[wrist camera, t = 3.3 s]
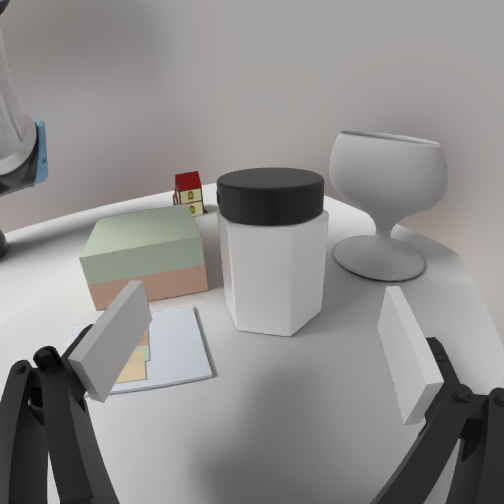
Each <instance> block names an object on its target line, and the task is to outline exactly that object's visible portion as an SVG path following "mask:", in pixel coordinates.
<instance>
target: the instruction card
mask: <svg viewBox="0 0 504 504" xmlns="http://www.w3.org/2000/svg"><path fill="white" fill-rule="evenodd" d="M151 316H152V319H153V320H152V322H151V323H150V325H149V326H148V328H147V330H146V331H145V333H144V335H143V336H142V338H141V340H140V341H139V343H138V345H137V346H136V348H135V350H134V351H133V353H132V355H131V356H130V358H129V360H128V362H127V363H126V365H125V367H124V368H123V370H122V372H121V374H120V375H119V377H118V379H117V381H116V382H115V384H114V386H113V388H112V389H111V391H110V393H109V394H117V393H125V392H132V391H139V390H146V389H152V388H159V387H165V386H170V385H176V384H181V383H187V382H192V381H197V380H201V379H206V378H211V377H213V376H212V372H211V369H210V366H209V362H208V359H207V356H206V352H205V349H204V345H203V342H202V338H201V335H200V331H199V328H198V324H197V321H196V317H195V313H194V310H193V306H187V307H181V308H176V309H170V310H165V311H159V312H154V313H151ZM90 324H95V322H93V323H87V324H80V325H75V326H74V330H73V334H72V338H71V342H70V345H71V344H72V342H74V340H75V339H76V337H78V335H79V334H80V332H81V331H82V330H83V329H84V328H86V327H87V326H88V325H90ZM88 396H89V394H88V393H87V391H86V393H85V395H84V397H88Z"/></svg>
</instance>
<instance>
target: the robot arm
mask: <svg viewBox="0 0 504 504" xmlns="http://www.w3.org/2000/svg"><path fill="white" fill-rule="evenodd" d="M10 1H11V0H0V18H1V16H2V15H3V14H4V12H5V11H6V10H7V8H8V6H9V4H10ZM47 177H48V164H47V151H46V134H45V123H44V122H43V121H35V122H33V120H32V119H31V118H30V116H28V115H27V114H25V113H22V112H21V110H20V107H19V103H18V100H17V97H16V94H15V90H14V87H13V83H12V79H11V75H10V71H9V67H8V63H7V59H6V54H5V49H4V44H3V40H2V33H1V27H0V197H1V196H3V195H6V194H9V193H12V192H15V191H18V190H21V189H24V188H27V187H33V186H35V185H36V184H39V183H41V182H44V181H45V180H46V179H47ZM7 250H8V245H7V241H6V238H5V236H4V234H3V233H2V231H1V230H0V258H1V257H2V256H3V255H4V254H5V253H6V251H7ZM152 320H153V319H152V316H151V312H150V308H149V305H148V301H147V297H146V293H145V289H144V285H143V281H141V280H130V282H129V283H128V284H127V285H126V286H125V287H124V289H123V290H122V291H121V292H120V293H119V295H118V296H117V297H116V298H115V299H114V300H113V302H112V303H111V304H110V305H109V306H108V308H107V309H106V310H105V311H104V313H103V314H102V315H101V316H100V317H99V319H98V320H97V321H96V322H95V324H90V325H88V326H87V327H86V328H84V329H83V330H82V331H81V332H80V334H79V335H78V337H76V339H75V340H74V342H72V344H71V345H70V346H69V347H68V349H67V350H66V351H65V353H64V354H63V355H62V356H61V358H60V356H59V354H58V352H57V350H56V348H54V347H53V346H45V347H43V348H41V349H39V350H38V351H37V352H36V353H35V354H34V357H33V360H34V362H35V363H36V365H37V367H38V368H32V366H31V364H30V363H29V361H27V360H20V361H18V362H16V363H15V364H14V365H13V366H12V367H11V369H10V372H9V375H8V379H7V382H6V385H5V388H4V392H3V395H2V399H1V402H0V504H48V503H47V471H48V450H49V455H50V460H51V465H52V470H53V475H54V479H55V483H56V487H57V491H58V495H59V499H60V504H120V503H119V501H118V499H117V496H116V494H115V491H114V489H113V486H112V484H111V481H110V479H109V476H108V473H107V471H106V468H105V465H104V462H103V459H102V456H101V453H100V450H99V447H98V444H97V440H96V437H95V434H94V430H93V427H92V423H91V419H90V415H89V411H88V407H87V403H86V400H85V398H84V395H85V393H86V391H87V393H88V394H89V396H90V398H91V399H93V400H96V401H99V402H103V403H104V402H105V400H106V398H107V396H108V395H109V393H110V391H111V389H112V388H113V386H114V384H115V382H116V381H117V379H118V377H119V375H120V374H121V372H122V370H123V368H124V367H125V365H126V363H127V362H128V360H129V358H130V356H131V355H132V353H133V351H134V350H135V348H136V346H137V345H138V343H139V341H140V340H141V338H142V336H143V335H144V333H145V331H146V330H147V328H148V326H149V325H150V323H151V322H152ZM377 329H378V333H379V336H380V339H381V342H382V346H383V349H384V352H385V356H386V359H387V363H388V366H389V370H390V373H391V377H392V381H393V384H394V388H395V392H396V396H397V400H398V404H399V408H400V412H401V416H402V421H403V425H409V424H415V423H420V421H421V420H422V418H423V416H424V415H425V419H426V424H425V425H424V427H423V428H422V430H421V431H420V432H419V434H418V435H419V436H418V437H417V439H416V440H415V442H414V444H413V445H412V447H411V449H410V450H409V452H408V453H407V455H406V456H405V458H404V459H403V461H402V462H401V464H400V465H399V467H398V468H397V470H396V471H395V472H394V474H393V475H392V477H391V478H390V479H389V481H388V482H387V483H386V485H385V486H384V487H383V489H382V490H381V491H380V492H379V494H378V495H377V496H376V497H375V499H374V500H373V501H372V502H371V504H423V503H424V501H425V500H426V498H427V497H428V495H429V493H430V492H431V490H432V488H433V487H434V485H435V483H436V482H437V480H438V478H439V476H440V474H441V473H442V471H443V469H444V467H445V465H446V463H447V461H448V459H449V457H450V455H451V453H452V451H453V449H454V447H455V445H456V443H457V440H458V439H461V442H460V448H459V453H458V458H457V462H456V467H455V471H454V475H453V479H452V483H451V487H450V490H449V494H448V497H447V501H446V504H504V389H503V388H495V389H493V390H492V391H491V392H490V394H489V395H478V394H473V392H472V391H471V389H470V388H469V387H467V386H466V385H464V384H460V382H459V380H458V378H457V375H456V373H455V371H454V369H453V366H452V364H451V362H450V360H449V358H448V356H447V354H446V352H445V350H444V347H443V345H442V344H441V343H440V342H439V341H438V340H437V339H436V338H435V337H431V338H425V336H424V334H423V332H422V330H421V328H420V326H419V324H418V322H417V319H416V317H415V315H414V313H413V311H412V309H411V307H410V305H409V303H408V301H407V300H406V298H405V296H404V294H403V292H402V290H401V288H400V286H386V290H385V295H384V299H383V304H382V309H381V313H380V317H379V321H378V325H377ZM28 401H29V405H28Z"/></svg>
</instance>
